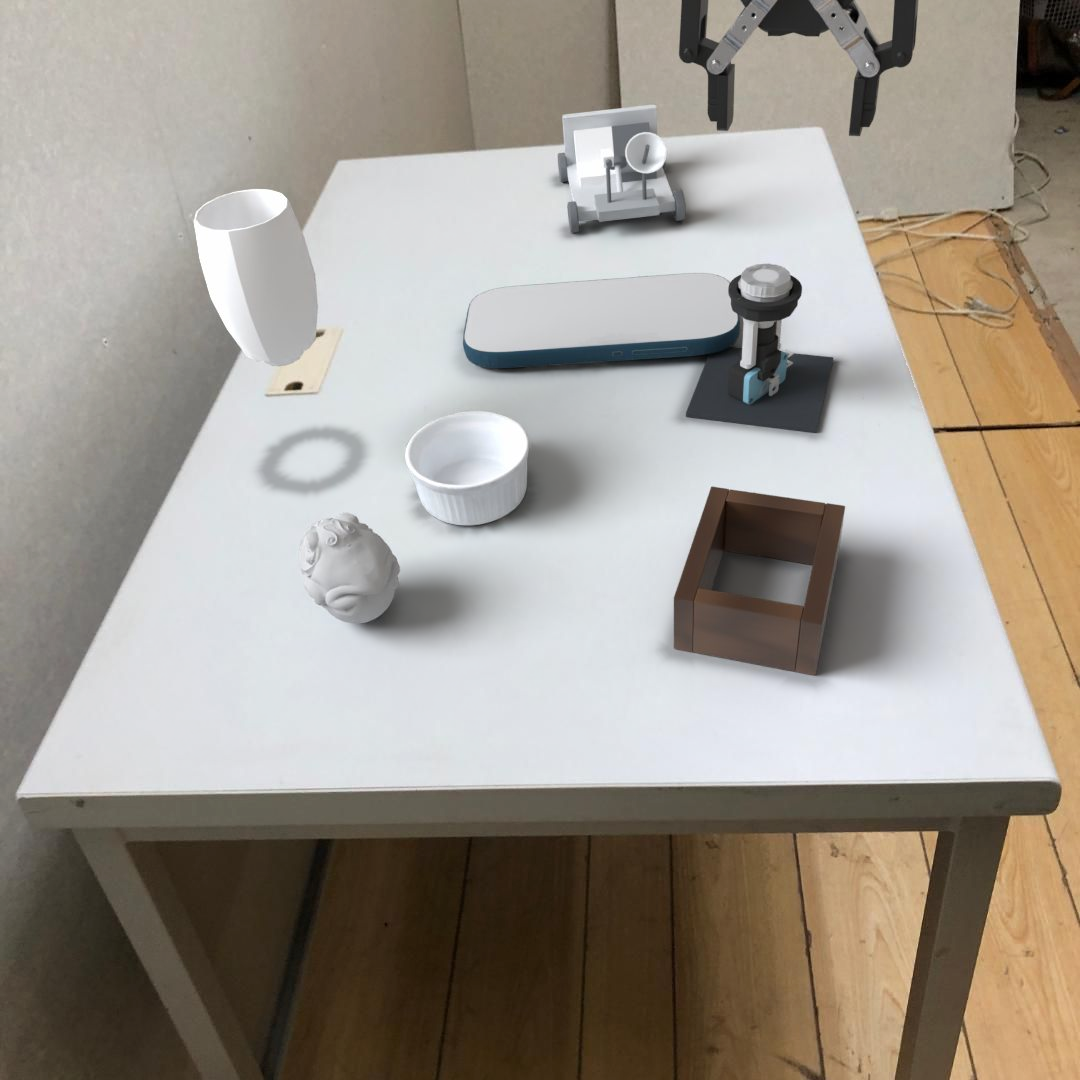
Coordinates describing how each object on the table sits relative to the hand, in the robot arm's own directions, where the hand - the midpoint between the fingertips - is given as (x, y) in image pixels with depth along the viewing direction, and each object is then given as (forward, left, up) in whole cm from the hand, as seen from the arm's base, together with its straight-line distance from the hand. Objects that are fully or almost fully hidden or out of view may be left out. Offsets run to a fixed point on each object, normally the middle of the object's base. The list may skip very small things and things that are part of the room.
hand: (789, 129), depth 70 cm
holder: (-3, +22, -21) cm, 31 cm away
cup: (+33, +15, -22) cm, 42 cm away
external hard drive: (+16, -7, -21) cm, 27 cm away
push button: (+1, -1, -21) cm, 21 cm away
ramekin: (+19, +16, -22) cm, 33 cm away
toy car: (+21, -31, -22) cm, 44 cm away
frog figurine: (+22, +29, -22) cm, 43 cm away
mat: (+1, -1, -21) cm, 21 cm away
